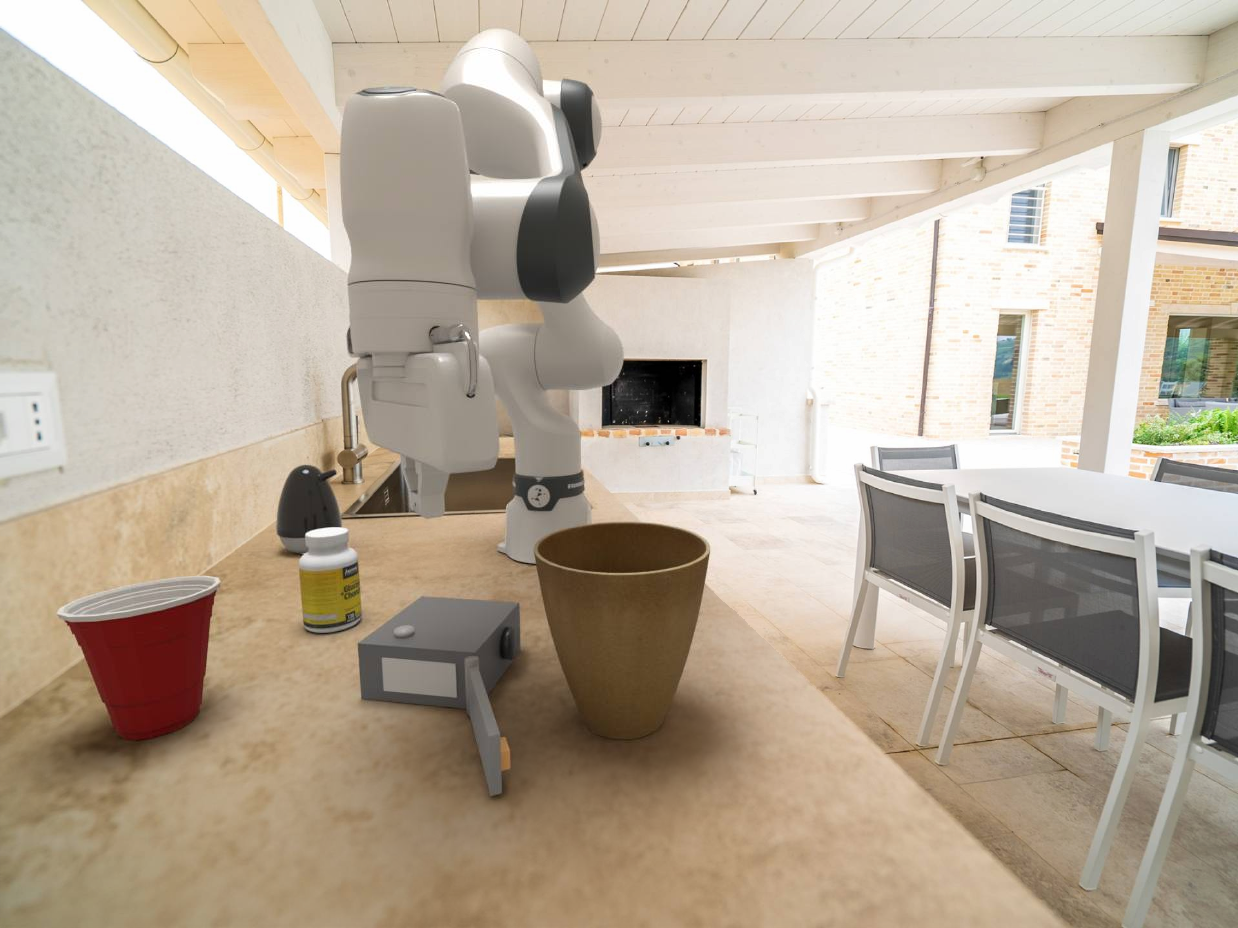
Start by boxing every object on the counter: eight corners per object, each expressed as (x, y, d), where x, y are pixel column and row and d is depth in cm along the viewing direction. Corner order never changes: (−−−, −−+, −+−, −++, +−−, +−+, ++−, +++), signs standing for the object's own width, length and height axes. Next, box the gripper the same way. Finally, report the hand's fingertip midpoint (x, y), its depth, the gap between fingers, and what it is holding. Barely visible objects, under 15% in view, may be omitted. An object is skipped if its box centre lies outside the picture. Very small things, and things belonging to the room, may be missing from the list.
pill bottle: (339, 637, 67) (332, 540, 66) (291, 632, 69) (282, 537, 67) (373, 615, 74) (367, 526, 72) (328, 611, 75) (322, 524, 73)
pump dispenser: (326, 558, 97) (320, 469, 95) (265, 558, 97) (257, 469, 95) (355, 541, 107) (349, 460, 105) (299, 541, 107) (292, 460, 105)
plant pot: (550, 673, 59) (548, 520, 57) (697, 675, 59) (700, 521, 56) (522, 770, 44) (517, 569, 42) (717, 774, 44) (722, 571, 42)
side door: (487, 796, 41) (485, 731, 40) (465, 709, 52) (463, 657, 51) (511, 790, 42) (509, 726, 41) (484, 705, 53) (483, 653, 52)
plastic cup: (211, 676, 58) (199, 561, 57) (251, 714, 52) (239, 586, 50) (64, 725, 50) (45, 592, 48) (89, 778, 43) (68, 626, 42)
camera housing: (424, 642, 66) (421, 591, 65) (529, 650, 64) (528, 598, 63) (360, 699, 54) (356, 638, 53) (487, 711, 52) (484, 648, 51)
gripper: (520, 323, 36) (526, 538, 38) (417, 338, 52) (425, 488, 54) (418, 318, 32) (432, 556, 35) (341, 336, 49) (353, 497, 51)
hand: (427, 514), depth 45 cm, fingers closed
